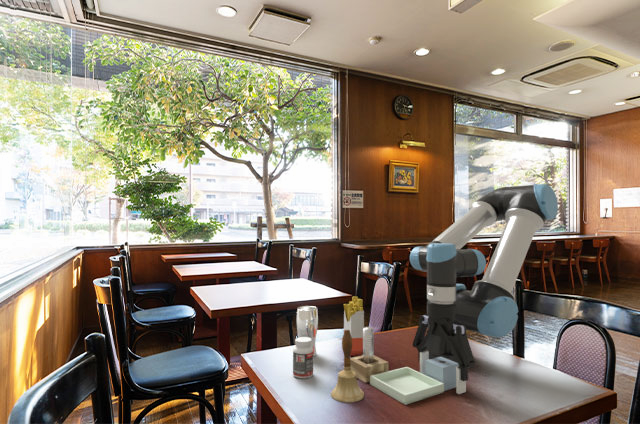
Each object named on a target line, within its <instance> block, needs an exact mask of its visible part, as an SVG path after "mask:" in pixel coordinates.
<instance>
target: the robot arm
mask: <svg viewBox="0 0 640 424" xmlns="http://www.w3.org/2000/svg"><path fill="white" fill-rule="evenodd" d="M558 209H559V203H558V198H557V195H556V192H555V190H554V188H552V186H550V185H549V184H546V183H539V184H538V183H534V184H527V185H515V186H502V187H499V188H498V187H497V189H494V190H491V191H490V192H488V193H486V194H484V195H483V196H481V197H480V198H478V199H477V200H476V201H475V202H473V203H472V204H471V206H470V208H469V210H468V211H466V212H465V214H464V215H462V216H460V218H458V219H457V220H456V221H455V222H454V223H453V224H451V225H450V226H449V227H447V228H446V229H445V230H444V231H443V232H441V233H440V234H439V235H438V236H437V237H435V238H434V239H433V240H432V241H431V242H430V243H428V244H427V245H425V246H424V245H423V246H422V245H421V246H416V247H413V249H412V250H411V251H410V254H409V262H410V264H411V266H412V268H414V269H415V270H417V271H422V272H426V314H424V315H419V317H418V320H419V321H418V322H419V323H418V325H417V329H416V332H415V336H414V338H413V342H412V347H413V348H415V349H417V352H418V353H417V354H418V358H417V359H418V363H419V372H420V373H422V374H424V375H425V360H429V359H433V358H437V357H443V358H446V359H448V360H451V361H454V362H456V363H458V365H459V366H457V367H456V387H455V390H456V391H455V392H456V394H458V395H462V394H463V393H466V392H467V381H468V380H469V368H472V367H475V366H476V361H475V358H474V354H473V352H472V348H471V345H470V342H469V338H468V336H467V331H469V332H473V333H477V334H481V335H483V336H486V337H492V338H503V337H506V336H507V335H509V334H510V333H511V332H512V331H513V329H515V327H516V324H517V322H518V319H519V315H518V313H519V307H518V305H517V302H516V301H515V300H516V298H515V295H514V294H513V292H512V291H513V289H514V287H515V284H516V282H517V279H518V276H519V273H520V271H521V269H522V266H523V264H524V261H525V259H526V256H527V253H528V251H529V249H530V247H531V243H532V241H533V238H534V235H535V233H536V232H537V231H540V230H542V229H543V228H544V224H545V223H546V221H551V220H554V219H555V218H556V217H557V215H558V213H559V212H558V211H559V210H558ZM505 220H506V224H505V225H504V229H503V230H502V233H501V234H500V238H499V240H498V242H497V245H496V247H495V250H494V252H493V254H492V256H491V258H490V261H489V263H488V266H487V260H486V257H485V255H484V254H483V253H482V251H480V250H478V249H473V248H467V249H462V248H463V247H464V246H465V245H466V244H468V242H470V241H471V240H472V239H473V238H474V237H475V236H476V235H477V234H479V233H480V232H481V231H482V230H483V229H484V228H486V227H489V226H491V225H493V224H494V223H496V222H499V221H505ZM486 267H487V268H486ZM483 272H484V275H483V277H482V279H481V280H480V279H479V280H477V281H475V282H474V284H473V286H472V288H471V290H467V287H466V285H465V284H463V283H457V278H464V277H474V276H477V275H481V274H483Z"/></svg>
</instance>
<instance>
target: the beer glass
mask: <svg viewBox="0 0 640 424" xmlns="http://www.w3.org/2000/svg"><path fill="white" fill-rule="evenodd" d="M296 311H297V312H296V330H297V331H296V332H297V336H298V337H297V338H299V337H309V338H311V339H312V344H311V347H312V348H313V358H314V357H316V356H317V348H316V340H317V339H316V338H317V333H318V327H319V316H318V314H319V313H318V312H319V311H318V307H316V306H313V305H302V306H298V307H297V310H296Z"/></svg>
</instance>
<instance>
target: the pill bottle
mask: <svg viewBox="0 0 640 424" xmlns="http://www.w3.org/2000/svg"><path fill="white" fill-rule="evenodd" d="M294 344H295V346H294V348H293V350H292V353H293V354H292V375H293V376H294V377H295V378H297V379H309V378H311V377H312V376H313V375H314V357H313V348H312V347H311V344H312V339H311V338H309V337H299V338H298V337H297V338H295V340H294Z"/></svg>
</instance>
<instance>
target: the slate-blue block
mask: <svg viewBox="0 0 640 424" xmlns="http://www.w3.org/2000/svg"><path fill="white" fill-rule="evenodd" d="M457 366H459V365H458V363H456V362H454V361H451V360H448V359H446V358H443V357H437V358H433V359H429V360H425V375H426V376H429V377H431V378H433V379H435V380H437V381H439V382H442V383H444V392H445V391H449V390H451V389H456V367H457Z"/></svg>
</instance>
